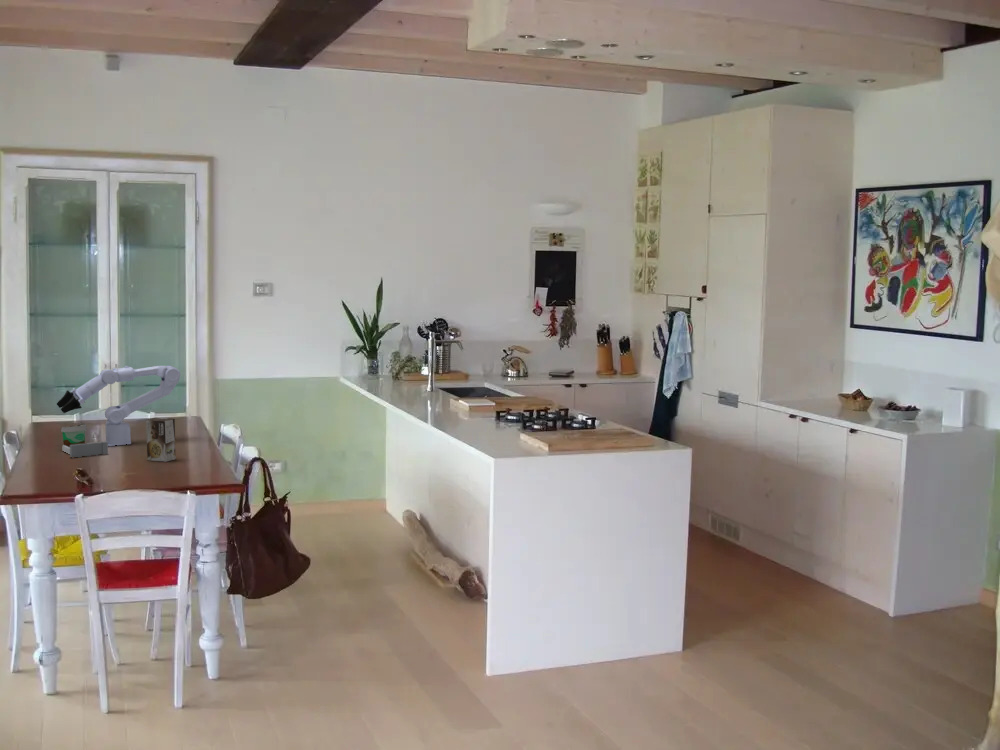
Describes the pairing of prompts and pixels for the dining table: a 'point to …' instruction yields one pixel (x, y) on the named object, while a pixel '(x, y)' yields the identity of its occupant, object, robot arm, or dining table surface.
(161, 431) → the coffee box
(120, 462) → the dining table surface
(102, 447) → the grey flat tray
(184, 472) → the dining table surface
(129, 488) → the dining table surface
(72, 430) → the food container
